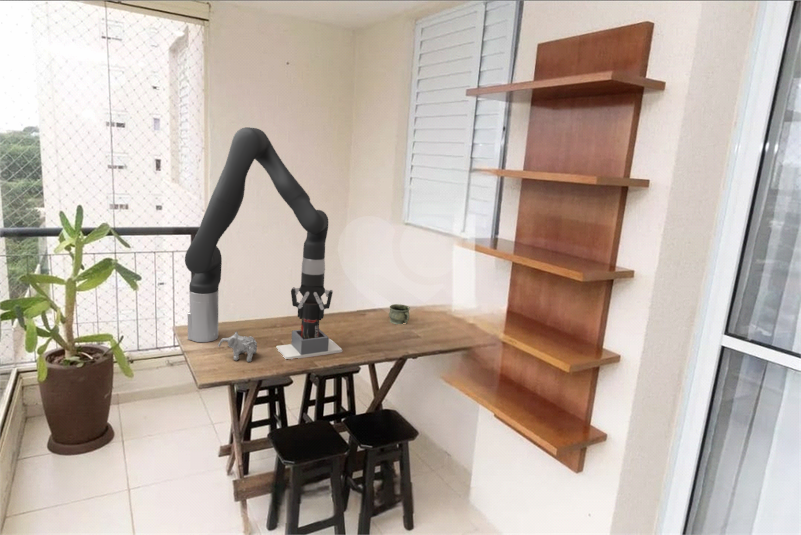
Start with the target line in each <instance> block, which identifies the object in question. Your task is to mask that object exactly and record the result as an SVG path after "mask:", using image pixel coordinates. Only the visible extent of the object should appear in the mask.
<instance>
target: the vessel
mask: <svg viewBox="0 0 801 535" xmlns="http://www.w3.org/2000/svg"><path fill="white" fill-rule="evenodd" d="M410 310H411V308H410V306H409V305H405V304H401V303H400V304H399V303H396V304H390V305H389V311H388V318H389V322H390V324H392V325H393V324H394V325H398V324H403V323H406V324H408V321H409V320H410ZM406 324H405V325H406ZM403 325H404V324H403Z"/></svg>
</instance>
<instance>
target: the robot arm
mask: <svg viewBox="0 0 801 535" xmlns="http://www.w3.org/2000/svg"><path fill="white" fill-rule="evenodd" d="M255 160H256V161H257V163H258V164H260V166H261V167H262V168H263V169H264V170H265V172H266V173H267V174H268V177H270V180H271V181H272V183H273V185H274V187H275V189H276V191H277V192H278V194H279V196H280V197H281V198H282V199H283V201H285V203H286V204H287V206H288V207H289V208H290V209H291V210H292V211H293V214H294V216H295V217H296V220H297V221H298V223H299V225H300V226H302V228H303V229H304V230H305V231H306V238H305V240H304V243H303V249H302V251H303V253H302V254H303V255H302V262H301V274H300V276H301V278H300V286H299V287H292V288H291V290H290V292H291V293H290V294H291V303H292V306H293V307H296V308H297V318H299V320H302V306H303V303H304V302H305V301H306V300H307V301H310V300H312V301H317V303H318V304H319V307H320V312H319V321H322V320H323V319H324V314H325V310H326V309H330V305H331V301H332V298H333V292H334V291H333V289H329V290H328V289H325V274H326V273H325V272H326V261H325V260H326V259H325V257H326V241H327V236H328V231H329V218H328V214H327V213H326V212H325V211H324V210H320V209H316V208H315V207H314V205H313V204H312V202H311V198H310V196H309V194H308V192H306V190H305V189H304V188H303V187H302V185H301V184H300V182H298V180H297V179H296V178H295V177H294V175H293V174H292V173H291V172H290V171H289V169H288V168H287V166H286V165H285V163H284V162H283V160H282V159H281V158H280V156H279V154H278V153H277V151H276V150H275V147H274V146H273V144H272V142H271V140H270V139H269V137H268V135H267V134H266V132H264V131H263V130H262V129H260V128H257V127H242V128H240V129H239V130H237V131H236V132H235V133H234V136H233V138H232V141H231V143H230V148H229V150H228V154H227V158H226V162H225V164H224V166H223V169H222V171H221V173H220V176H219V177H218V180H217V183H216V185H215V188H214V190H213V191H212V192H213V193H212V194H211V197H210V199H209V202H208V205H207V208H206V210H205V212H204V215H203V216H202V220H201V221H200V222H201V223H200V224H199V228H198V230H197V232H196V234H195V236H194V237H193V240H192V242H191V243H190V244H189V247H188V249H187V250H186V252H185V256H184V263H185V267H186V268H187V270H188V271H189V272H190V273H193V274H194V275H193V277H192V279H191V280H190V282H189V284H188V285H189V311H188V313H187V341H193V342H197V343H208V342H213V341H215V340H217V339H218V338H219V285H220V283H221V278H222V253H221V250H220V249H219V247H218V246H217V245H218V243H219V241H220V239H221V237H222V236H223V235H224V234H225V232H226V231H227V230H228V229H229V227H230V226H231V224H232V223H233V222H234V220H236V218H237V214H238V213H239V211H240V208H241V205H242V204H243V200H244V198H245V190H246V181H247V180H246V179H247V176H248V172H249V170H250V169H251V166H252V165H253V162H254V161H255ZM299 293H300V294H301V296H302V297H301V299H300V301H299V302H298V298H297V295H298V294H299ZM324 294H325V297H327V300H326V303H325V304H324V301H323V298H322V296H323V295H324Z"/></svg>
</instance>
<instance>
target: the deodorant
mask: <svg viewBox="0 0 801 535" xmlns="http://www.w3.org/2000/svg"><path fill="white" fill-rule="evenodd" d="M319 312H320V307H319V304H318V303H317V301H312V300H310V301H307V300H306V301H305V302H304V303H303V306H302V319H301V325H300V328H301V329H300V330H301V337H302V338H303V339H311V338H318V336H319V329H320V320H319Z"/></svg>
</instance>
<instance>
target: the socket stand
mask: <svg viewBox="0 0 801 535" xmlns="http://www.w3.org/2000/svg"><path fill="white" fill-rule="evenodd" d="M275 348H277V349H278V350H277V349H276V350H277V351H278V353H279V352H280V353H281V354H282V355H283V356H282V355H281V354H280V353H279V354H280V355H281V356H282V357H284V358H285V359H291V360H294V359H293V358H298V359H304V358H310V357H318V356H325V355H332V354H338V353H343V349H342V348H341V346H339V345H338V344H337V343H336V342H335V341H333V340H332V339H331V338H330V337H329V336H328V335H326V333H325V332H324V331H322V330H321V329H320V328H319V336H318V338H311V339H303V338H302V337H301V329H294V330H292V331H291V343H289V344H281V345H276V347H275ZM284 358H283V359H284ZM285 359H284V360H285Z"/></svg>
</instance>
